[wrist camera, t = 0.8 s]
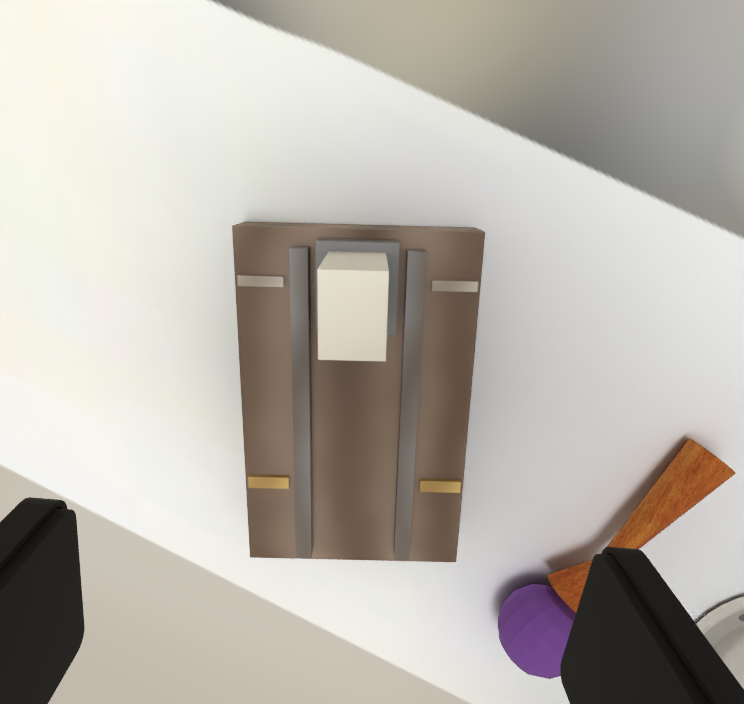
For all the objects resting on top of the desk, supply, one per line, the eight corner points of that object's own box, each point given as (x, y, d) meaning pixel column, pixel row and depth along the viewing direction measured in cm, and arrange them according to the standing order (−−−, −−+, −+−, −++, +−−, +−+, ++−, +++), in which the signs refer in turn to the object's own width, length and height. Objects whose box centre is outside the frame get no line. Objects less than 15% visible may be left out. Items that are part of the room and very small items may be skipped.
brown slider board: (475, 227, 33) (489, 234, 29) (450, 534, 39) (458, 574, 35) (244, 221, 32) (226, 227, 28) (259, 529, 39) (246, 569, 35)
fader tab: (398, 239, 30) (406, 259, 22) (394, 327, 31) (401, 372, 24) (318, 237, 30) (300, 257, 22) (319, 325, 31) (302, 369, 24)
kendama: (772, 502, 34) (560, 708, 37) (702, 452, 40) (522, 636, 43) (723, 458, 32) (502, 682, 35) (656, 413, 37) (470, 609, 41)
